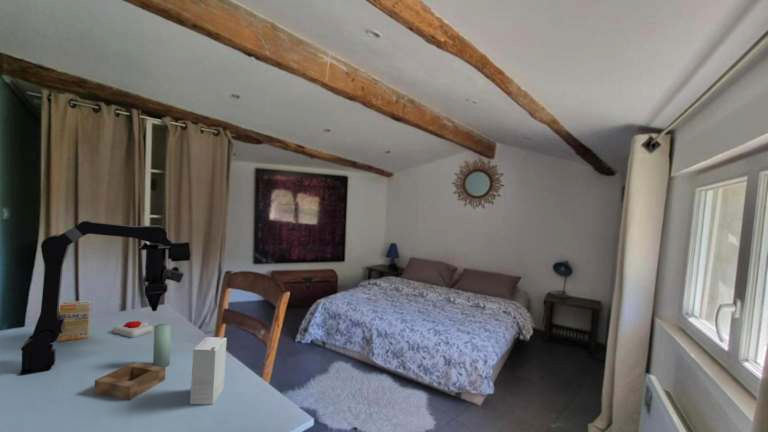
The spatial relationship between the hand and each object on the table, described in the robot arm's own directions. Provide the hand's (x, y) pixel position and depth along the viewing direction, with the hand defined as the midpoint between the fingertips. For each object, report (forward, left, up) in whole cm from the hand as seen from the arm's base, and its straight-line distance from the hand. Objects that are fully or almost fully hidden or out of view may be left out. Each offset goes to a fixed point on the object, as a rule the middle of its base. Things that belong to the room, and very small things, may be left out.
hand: (153, 307), depth 120 cm
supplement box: (-22, +24, -15) cm, 36 cm away
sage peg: (+2, -15, -15) cm, 21 cm away
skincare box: (+11, -41, -15) cm, 45 cm away
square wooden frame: (-6, -25, -15) cm, 30 cm away
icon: (-4, +22, -15) cm, 27 cm away
